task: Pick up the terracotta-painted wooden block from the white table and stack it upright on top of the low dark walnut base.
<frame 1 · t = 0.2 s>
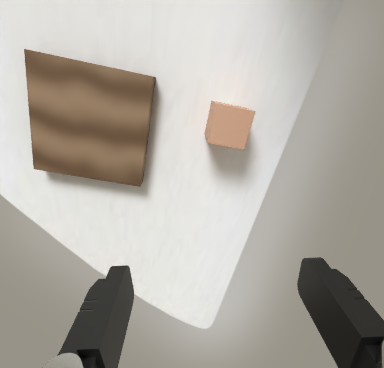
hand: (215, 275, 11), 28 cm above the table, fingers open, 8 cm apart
stacking block: (223, 121, 35), on the table
walnut base: (95, 123, 34), on the table
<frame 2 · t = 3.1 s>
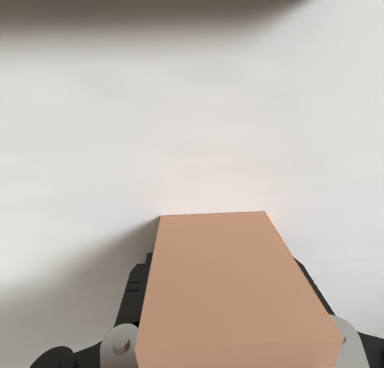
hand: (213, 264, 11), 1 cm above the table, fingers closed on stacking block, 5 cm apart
stacking block: (212, 254, 12), on the table, touching gripper
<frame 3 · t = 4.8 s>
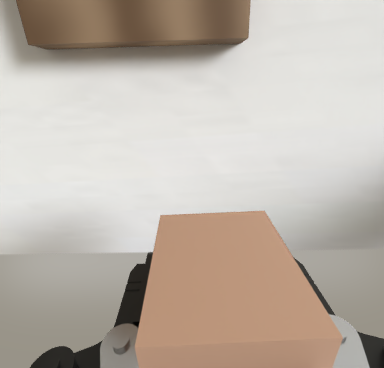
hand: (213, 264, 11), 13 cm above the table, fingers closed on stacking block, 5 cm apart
stacking block: (212, 254, 12), point 13 cm above the table, touching gripper
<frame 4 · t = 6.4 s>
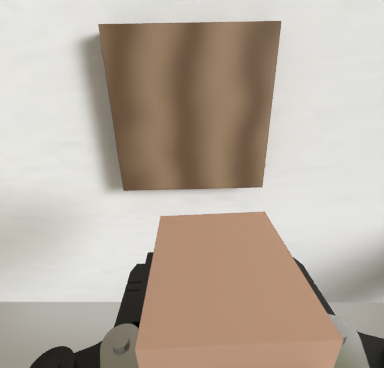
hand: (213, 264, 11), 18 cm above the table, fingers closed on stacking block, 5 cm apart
stacking block: (212, 255, 12), point 17 cm above the table, touching gripper
walnut base: (191, 114, 25), on the table
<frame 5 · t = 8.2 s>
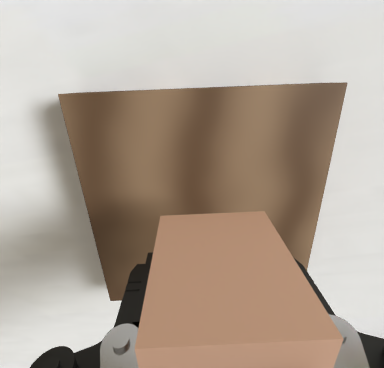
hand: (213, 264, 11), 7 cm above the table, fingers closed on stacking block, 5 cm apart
stacking block: (212, 254, 12), point 7 cm above the table, touching gripper
walnut base: (202, 197, 18), on the table
when the fingers open (4 cm above the table, at t = 9.7 s): stacking block stays where it is, resting on walnut base.
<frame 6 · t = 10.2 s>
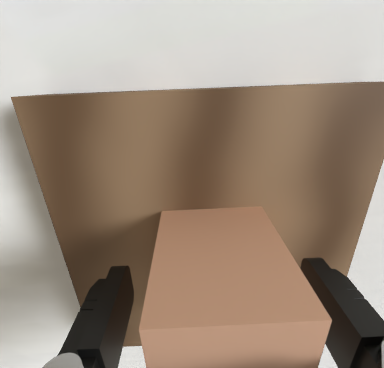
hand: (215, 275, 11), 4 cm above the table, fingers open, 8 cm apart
stacking block: (211, 248, 12), point 2 cm above the table, touching walnut base
walnut base: (207, 222, 15), on the table
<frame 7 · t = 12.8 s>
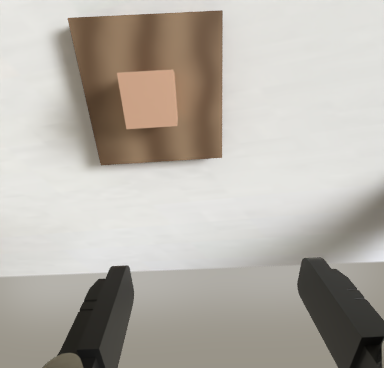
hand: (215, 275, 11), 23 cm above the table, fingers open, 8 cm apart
stacking block: (155, 96, 27), point 2 cm above the table, touching walnut base
walnut base: (156, 95, 29), on the table
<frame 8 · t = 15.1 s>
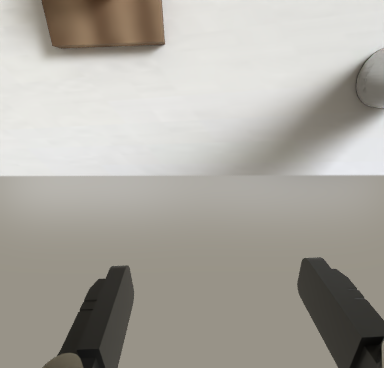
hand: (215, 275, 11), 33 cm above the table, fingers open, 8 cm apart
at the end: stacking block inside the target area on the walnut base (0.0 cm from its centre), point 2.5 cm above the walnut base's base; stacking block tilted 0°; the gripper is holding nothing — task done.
